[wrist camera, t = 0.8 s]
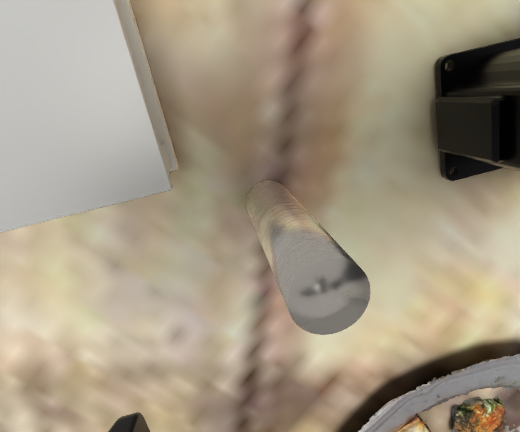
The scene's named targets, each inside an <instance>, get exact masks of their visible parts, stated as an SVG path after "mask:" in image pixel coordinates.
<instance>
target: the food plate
mask: <svg viewBox="0 0 520 432" xmlns="http://www.w3.org/2000/svg"><path fill="white" fill-rule="evenodd" d="M510 355H511V354H510ZM510 355H508V356H507V357H506V356H503V357H502V358H497V359H495V360H494V359H491V360H490V359H488V360H490V361H487V360H485V361H486V362H484V361H483V362H481V363H478V362H477V363H478V364H477V363H476V364H475V365H472V366H469V367H467V368H464V369H461V370H458V371H453V372H451V371H450V372H451V373H452V375H449V374H447V376H442V377H441V378H438V379H437V380H435V379H436V377H434V379H433V381H432V382H430V381H429V382H427V384H423V385H421V386H418V387H416V390H414V391H409V392H408V393H406V394H403V395H401V396H399V397H398V398H395V399H392V400H391V401H389V402H387V403H386V404H385V405H384V406H383V407H382V408H381V409H380V410H378V412H376V413H375V414H374V416H372V417H371V418H370V419H369V422H368V423H366V424H364V426H362V429H361V430H359V431H358V432H431V431H430V430H429V427H428V426H427V425H426V424H423V421H422V419H420V418H419V417H418V416H417V413H419V412H423V411H427V410H430V409H431V408H432V407H434V406H436V405H438V404H441V403H443V402H446V401H448V400H449V399H451V398H454V397H456V396H460V395H461V394H464V395H467V394H468V393H469V392H471V391H474V390H477V389H483V388H490V387H491V388H497V387H502V388H503V390H504V389H506V391H507V390H508V389H510V388H516V389H519V390H520V354H517V355H514V356H510ZM473 364H474V363H473ZM431 380H432V379H431ZM509 395H510V394H509ZM451 411H452V416H451V417H452V418H453V420H452V424H453V429H452V431H453V432H513V431H514V430H515V429H513V430H512V431H509V430H508V429H509V426H506V420H505V419H506V412H505V409H504V407H503V405H502V401H501V400H499V399H498V396H496V397H495V398H494V399H486V400H482V399H481V398H480V397H475V398H471V399H468V400H464V402H463V404H461V405H459V406H458V405H456V406H454V407H453V408H452V410H451ZM426 422H427V421H426ZM513 426H514V425H513ZM516 429H518V431H520V426H519V427H518V428H516Z"/></svg>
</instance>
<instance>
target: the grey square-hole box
mask: <svg viewBox="0 0 520 432" xmlns="http://www.w3.org/2000/svg"><path fill="white" fill-rule="evenodd" d="M178 167H179V165H178V162H177V159H176V155H175V152H174V149H173V145H172V142H171V138H170V135H169V132H168V128H167V125H166V121H165V118H164V115H163V111H162V108H161V104H160V101H159V98H158V94H157V91H156V87H155V84H154V81H153V77H152V74H151V70H150V67H149V64H148V60H147V57H146V54H145V50H144V47H143V43H142V40H141V37H140V33H139V30H138V26H137V23H136V20H135V16H134V13H133V9H132V6H131V3H130V0H0V233H1V232H5V231H9V230H13V229H17V228H21V227H25V226H29V225H33V224H37V223H41V222H45V221H49V220H53V219H57V218H61V217H65V216H69V215H73V214H77V213H81V212H85V211H89V210H93V209H97V208H101V207H105V206H109V205H113V204H117V203H121V202H125V201H129V200H133V199H137V198H141V197H145V196H149V195H154V194H158V193H162V192H166V191H170V190H172V187H173V186H172V183H171V179H170V176H169V174H170V172H171V171H175V170H178Z"/></svg>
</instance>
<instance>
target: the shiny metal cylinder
mask: <svg viewBox="0 0 520 432" xmlns="http://www.w3.org/2000/svg"><path fill="white" fill-rule="evenodd" d="M246 208H247V211H248V213H249V216H250V218H251V221H252V223H253V225H254V228H255V230H256V233H257V235H258V238H259V240H260V242H261V245H262V247H263V250H264V252H265V254H266V257H267V259H268V262H269V264H270V266H271V269H272V271H273V274H274V276H275V279H276V281H277V283H278V286H279V288H280V291H281V293H282V295H283V298H284V300H285V303H286V305H287V307H288V310H289V312H290V315H291V317H292V319H293V320H294V321H295V323H296V324H297V325H298V326H299V327H301V328H302V329H304V330H305V331H308V332H310V333H314V334H320V335H326V334H333V333H337V332H340V331H342V330H344V329H346V328H348V327H349V326H351V325H352V324H354V323H355V322H356V321H357V320H358V319H359V318H360V317H361V315H362V314H363V313H364V311H365V309H366V307H367V305H368V302H369V298H370V284H369V281H368V278H367V276H366V274H365V273H364V272H363V270H362V269H361V268H360V267H359V266H358V265H357V264H356V263H355V262H354V261H353V259H352V258H351V257H350V256H349V255H348V254H347V253H346V252H345V251H344V250H343V249H342V248H341V247H340V246H339V244H338V243H337V242H336V241H335V240H334V239H333V238H332V237H331V236H330V235H329V234H328V233H327V232H326V231H325V229H324V228H323V227H322V226H321V225H320V224H319V223H318V222H317V221H316V220H315V219H314V218H313V217H312V216H311V214H310V213H309V212H308V211H307V210H306V209H305V208H304V207H303V206H302V205H301V204H300V203H299V202H298V201H297V199H296V198H295V197H294V196H293V195H292V194H291V193H290V192H289V191H288V190H287V189H286V188H285V187H284V186H283V185H282V184H281V183H279V182H276V181H272V180H266V181H262V182H259V183H257V184H256V185H255V186H253V187H252V188H251V190H250V191H249V193H248V195H247V198H246Z"/></svg>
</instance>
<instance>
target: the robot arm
mask: <svg viewBox="0 0 520 432" xmlns="http://www.w3.org/2000/svg"><path fill="white" fill-rule="evenodd" d="M446 62H449V69H448V70H446V69H445V64H446ZM436 86H437V102H436V117H437V136H438V148H439V149H440V161H441V174H442V176H443V178H445V179H448V180H451V181H455V180H458V179H462V178H466V177H470V176H474V175H478V174H481V173H485V172H489V171H493V170H497V169H500V168H508V169H512V170H517V171H520V38H518V39H514V40H510V41H505V42H501V43H497V44H493V45H488V46H484V47H480V48H475V49H471V50H467V51H463V52H458V53H454V54H450V55H445V56H443V57H441V58H440V59H439V60H438V61H437V63H436ZM452 168H454V171H453V173H452V174H450V170H451V169H452ZM108 432H150V430H149V428H148V426H147V424H146V421H145V419H144V417H143V415H142V414H141V413H139V412H136V413H133V414H129V415H126V416H122V417H120V418H119V419H118V420H117V421H116V422H115V424H114V425H113V426H112V427H111V429H110V430H109V431H108Z"/></svg>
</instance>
